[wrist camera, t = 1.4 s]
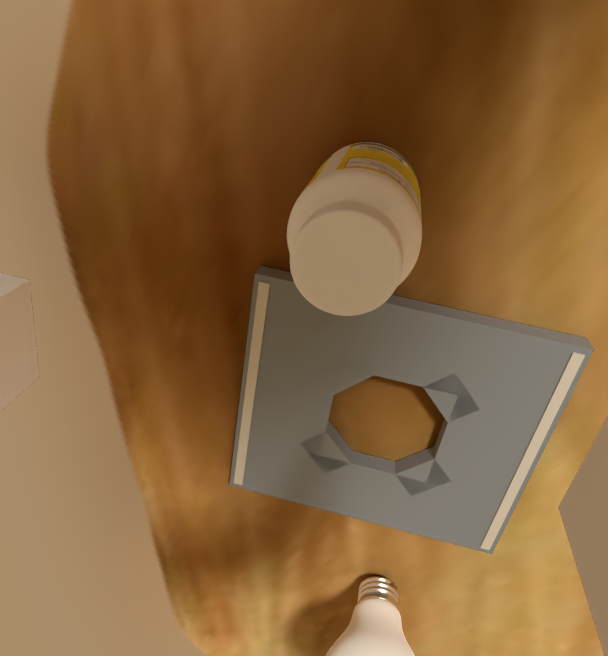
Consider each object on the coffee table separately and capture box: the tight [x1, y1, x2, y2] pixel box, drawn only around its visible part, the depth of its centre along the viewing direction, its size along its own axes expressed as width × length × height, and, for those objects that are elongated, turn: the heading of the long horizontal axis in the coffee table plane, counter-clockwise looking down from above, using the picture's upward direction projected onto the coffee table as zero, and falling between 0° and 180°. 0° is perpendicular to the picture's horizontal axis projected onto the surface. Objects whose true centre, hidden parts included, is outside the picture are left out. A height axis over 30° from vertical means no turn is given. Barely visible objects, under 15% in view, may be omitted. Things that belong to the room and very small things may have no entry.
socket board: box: [229, 266, 594, 554], centre depth 33 cm, size 16×18×1 cm
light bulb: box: [326, 576, 415, 656], centre depth 35 cm, size 7×7×11 cm
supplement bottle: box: [287, 142, 422, 316], centre depth 23 cm, size 5×5×10 cm
